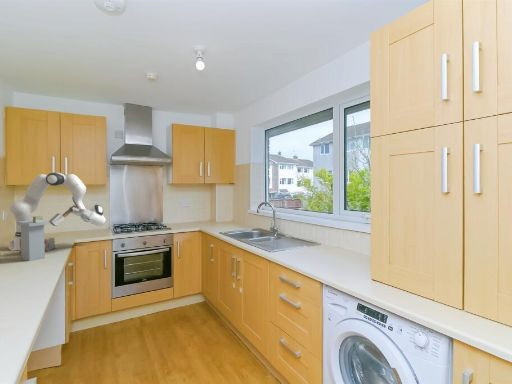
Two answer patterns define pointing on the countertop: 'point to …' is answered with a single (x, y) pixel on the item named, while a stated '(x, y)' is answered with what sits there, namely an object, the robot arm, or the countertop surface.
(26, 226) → the grey pedestal
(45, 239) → the stack of blocks
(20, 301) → the countertop surface
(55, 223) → the steel-headed mallet
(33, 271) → the countertop surface
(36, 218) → the sage cube
